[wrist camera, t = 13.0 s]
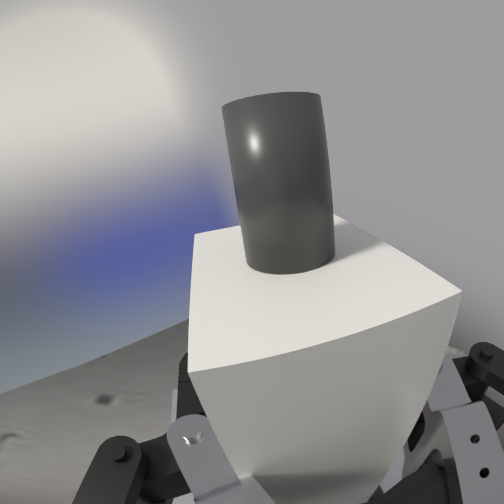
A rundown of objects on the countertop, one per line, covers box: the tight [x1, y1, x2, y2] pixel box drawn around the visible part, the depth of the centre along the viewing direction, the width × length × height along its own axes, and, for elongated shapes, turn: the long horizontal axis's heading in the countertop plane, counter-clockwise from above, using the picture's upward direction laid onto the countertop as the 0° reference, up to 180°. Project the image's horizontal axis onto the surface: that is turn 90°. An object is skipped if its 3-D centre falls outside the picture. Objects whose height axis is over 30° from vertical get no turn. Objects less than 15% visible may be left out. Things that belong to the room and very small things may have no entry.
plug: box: [188, 92, 462, 504], centre depth 8 cm, size 4×6×17 cm
